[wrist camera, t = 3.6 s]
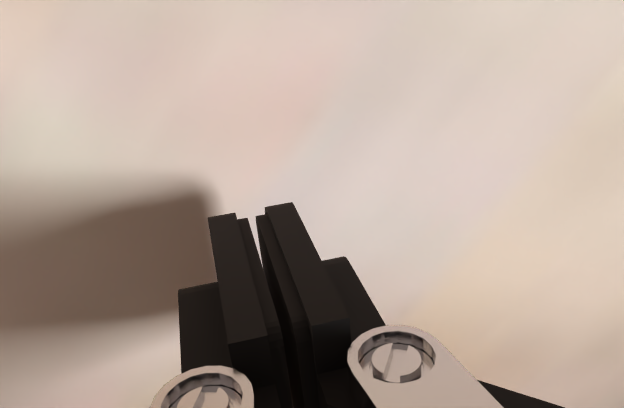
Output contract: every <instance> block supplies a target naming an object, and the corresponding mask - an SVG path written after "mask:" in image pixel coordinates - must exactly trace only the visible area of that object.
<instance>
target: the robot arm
mask: <svg viewBox="0 0 624 408" xmlns="http://www.w3.org/2000/svg"><path fill="white" fill-rule="evenodd" d="M208 223H209V229H210V236H211V242H212V248H213V254H214V260H215V267H216V273H217V279H218V282H215V283H210V284H205V285H200V286H195V287H190V288H185V289H180V290H178V302H179V325H180V348H181V371H182V374H180V375H178V376H176V377H175V378H173V379H172V380H170V381H169V382H168V383H166V384H165V385H164V386H163V387H162V388H161V389H160V390H159V392H158V393H157V394H156V395H155V397H154V399H153V401H152V404H151V406H150V408H564V407H561V406H558V405H555V404H552V403H548V402H545V401H542V400H539V399H536V398H533V397H529V396H526V395H523V394H520V393H517V392H514V391H510V390H507V389H504V388H501V387H498V386H495V385H491V384H488V383H485V382H482V381H479V380H476V379H475V378H474V377H473V376H472V375H471V373H470V372H469V371H468V370H467V369H466V368H465V367H464V366H463V365H462V364H461V363H460V362H459V361H458V360H457V359H456V358H455V357H454V356H453V355H452V354H451V353H450V352H449V351H448V350H447V349H446V348H445V347H444V346H443V345H442V344H441V343H440V341H439V340H437V339H436V338H435V337H433V336H432V335H431V334H429V333H428V332H425V331H423V330H420V329H418V328H415V327H410V326H404V325H385V323H384V322H383V320H382V318H381V316H380V315H379V313H378V311H377V309H376V308H375V306H374V304H373V303H372V301H371V299H370V297H369V296H368V294H367V292H366V290H365V289H364V287H363V285H362V283H361V282H360V280H359V278H358V277H357V275H356V273H355V271H354V270H353V268H352V266H351V264H350V263H349V261H348V260H347V258H346V257H339V258H334V259H329V260H324V261H321V259H320V257H319V255H318V253H317V251H316V249H315V247H314V245H313V243H312V241H311V239H310V237H309V235H308V233H307V230H306V228H305V226H304V224H303V222H302V220H301V218H300V216H299V214H298V212H297V210H296V208H295V206H294V204H293V203H292V202H291V203H285V204H280V205H274V206H269V207H265V215H260V216H256V224H257V231H258V238H259V244H260V251H261V258H262V264H263V267H262V264H261V261H260V258H259V254H258V251H257V248H256V244H255V241H254V238H253V235H252V231H251V228H250V225H249V221H248V218H243V219H238V220H237V217H236V214H235V213H230V214H225V215H219V216H214V217H208Z"/></svg>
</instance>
